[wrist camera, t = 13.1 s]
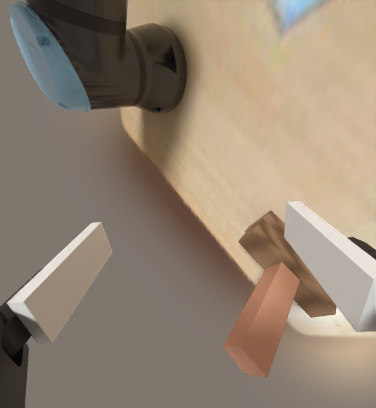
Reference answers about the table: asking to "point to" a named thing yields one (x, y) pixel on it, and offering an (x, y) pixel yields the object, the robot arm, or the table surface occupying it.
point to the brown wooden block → (286, 263)
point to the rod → (263, 321)
